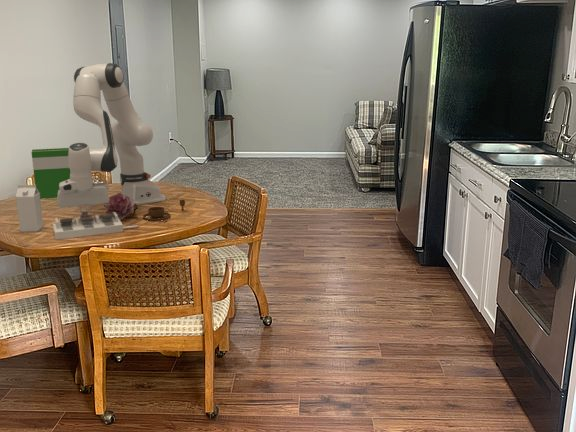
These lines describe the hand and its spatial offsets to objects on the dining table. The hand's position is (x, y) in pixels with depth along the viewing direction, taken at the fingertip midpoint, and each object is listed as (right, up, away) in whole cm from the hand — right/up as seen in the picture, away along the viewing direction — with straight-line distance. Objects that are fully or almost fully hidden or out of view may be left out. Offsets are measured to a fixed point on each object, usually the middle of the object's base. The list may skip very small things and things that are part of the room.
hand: (84, 215), depth 237 cm
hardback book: (-34, +10, +54) cm, 65 cm away
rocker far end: (-5, -3, -6) cm, 9 cm away
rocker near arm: (+9, -2, 0) cm, 9 cm away
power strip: (+6, -6, -2) cm, 9 cm away
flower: (+10, -1, +17) cm, 20 cm away
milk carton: (-21, -6, -2) cm, 22 cm away
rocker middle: (+2, -2, -3) cm, 4 cm away
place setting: (+30, -1, +18) cm, 35 cm away
